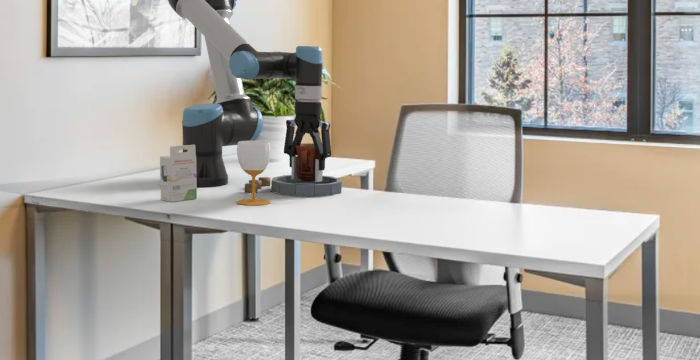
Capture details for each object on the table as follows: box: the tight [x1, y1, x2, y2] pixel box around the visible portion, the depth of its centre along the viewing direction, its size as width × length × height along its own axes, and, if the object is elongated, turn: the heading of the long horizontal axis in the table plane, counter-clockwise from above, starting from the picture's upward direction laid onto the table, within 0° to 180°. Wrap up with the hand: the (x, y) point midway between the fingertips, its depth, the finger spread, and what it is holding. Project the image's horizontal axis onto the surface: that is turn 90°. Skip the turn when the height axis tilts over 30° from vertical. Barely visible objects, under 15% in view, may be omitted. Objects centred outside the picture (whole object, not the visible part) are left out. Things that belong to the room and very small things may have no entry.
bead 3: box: [257, 176, 272, 187], centre depth 263 cm, size 4×4×2 cm
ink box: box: [159, 144, 198, 203], centre depth 235 cm, size 9×5×15 cm, turn 134°
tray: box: [270, 174, 343, 198], centre depth 255 cm, size 20×20×3 cm
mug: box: [295, 142, 318, 182], centre depth 254 cm, size 12×9×10 cm
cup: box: [235, 140, 272, 207], centre depth 233 cm, size 9×9×16 cm
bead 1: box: [244, 182, 259, 194], centre depth 250 cm, size 4×4×2 cm
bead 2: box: [248, 179, 262, 190], centre depth 257 cm, size 4×4×2 cm
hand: (306, 180), depth 255 cm, fingers closed on mug, 7 cm apart
